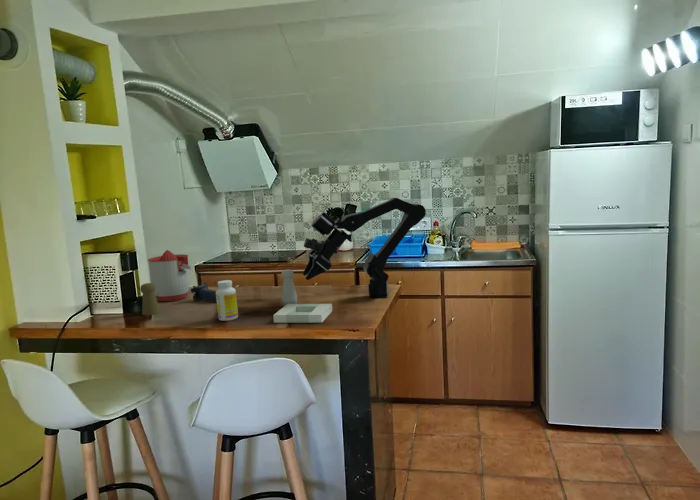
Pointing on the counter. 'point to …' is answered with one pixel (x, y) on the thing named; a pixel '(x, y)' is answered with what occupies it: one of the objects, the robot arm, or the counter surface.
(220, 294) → the supplement bottle
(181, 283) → the citrus juicer
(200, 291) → the dark blue irregular lump
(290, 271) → the grey pestle
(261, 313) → the counter surface
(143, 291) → the cork
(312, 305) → the square frame holder
